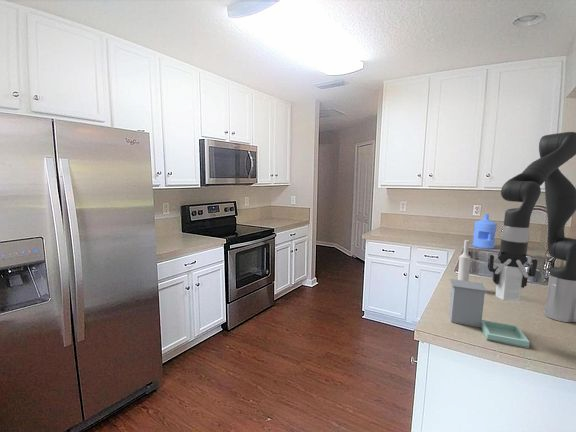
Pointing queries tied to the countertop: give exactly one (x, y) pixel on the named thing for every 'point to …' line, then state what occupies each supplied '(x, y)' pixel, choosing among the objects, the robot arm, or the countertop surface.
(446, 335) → the countertop surface
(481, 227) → the water jug
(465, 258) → the bottle
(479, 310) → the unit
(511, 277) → the skincare box
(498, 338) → the tray
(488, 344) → the countertop surface
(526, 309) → the countertop surface
